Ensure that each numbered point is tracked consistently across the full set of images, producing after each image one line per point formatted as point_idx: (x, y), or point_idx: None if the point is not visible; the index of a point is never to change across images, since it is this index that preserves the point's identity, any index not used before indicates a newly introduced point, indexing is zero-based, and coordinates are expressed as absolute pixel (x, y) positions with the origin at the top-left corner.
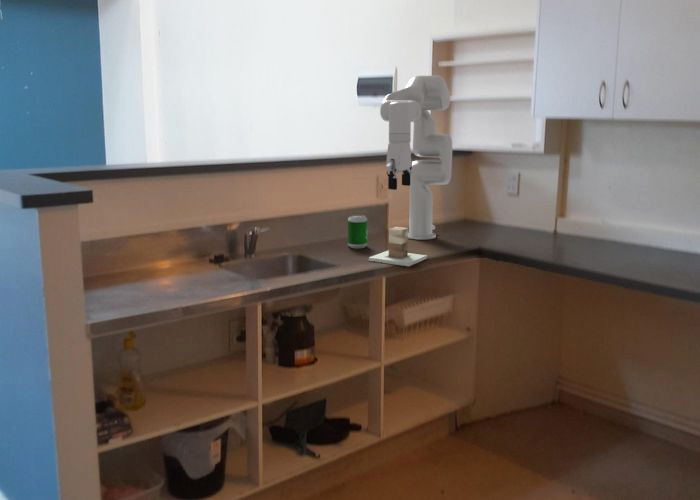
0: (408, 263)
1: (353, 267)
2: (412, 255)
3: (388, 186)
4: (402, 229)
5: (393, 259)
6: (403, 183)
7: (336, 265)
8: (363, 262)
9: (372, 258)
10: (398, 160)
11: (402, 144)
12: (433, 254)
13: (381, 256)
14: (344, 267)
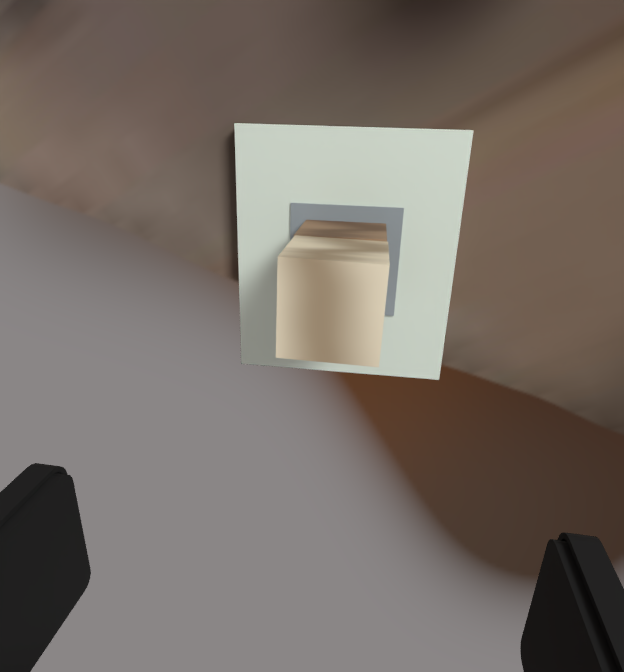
0: (242, 361)
1: (71, 129)
2: (402, 318)
3: (7, 491)
4: (309, 352)
5: (266, 270)
6: (548, 589)
7: (44, 12)
8: (191, 116)
9: (236, 149)
10: None
11: None
12: (551, 365)
13: (296, 177)
14: (41, 84)
